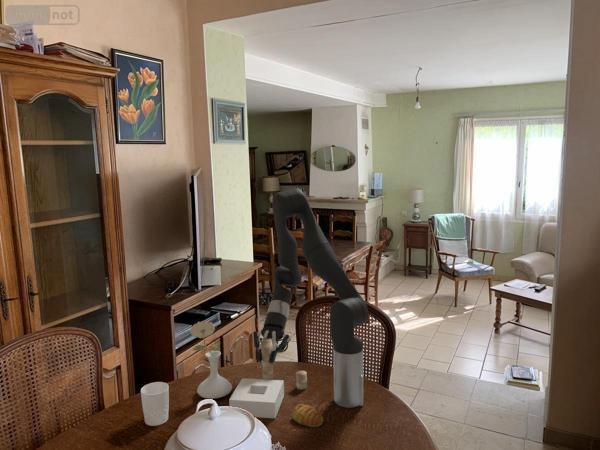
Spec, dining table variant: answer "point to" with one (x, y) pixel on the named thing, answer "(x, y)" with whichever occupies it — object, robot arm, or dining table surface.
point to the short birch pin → (301, 380)
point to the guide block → (258, 396)
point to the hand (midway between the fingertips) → (265, 361)
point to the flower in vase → (214, 383)
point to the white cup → (155, 403)
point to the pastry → (307, 416)
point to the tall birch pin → (266, 358)
